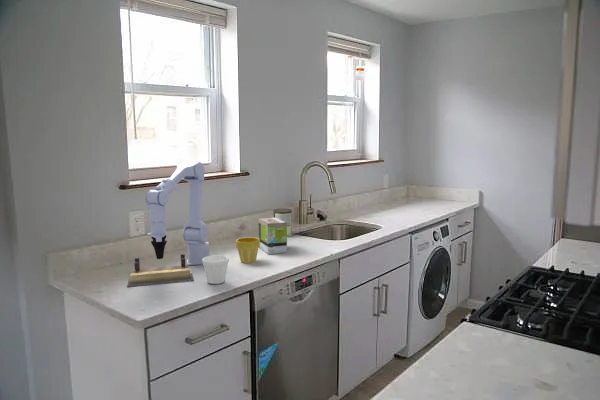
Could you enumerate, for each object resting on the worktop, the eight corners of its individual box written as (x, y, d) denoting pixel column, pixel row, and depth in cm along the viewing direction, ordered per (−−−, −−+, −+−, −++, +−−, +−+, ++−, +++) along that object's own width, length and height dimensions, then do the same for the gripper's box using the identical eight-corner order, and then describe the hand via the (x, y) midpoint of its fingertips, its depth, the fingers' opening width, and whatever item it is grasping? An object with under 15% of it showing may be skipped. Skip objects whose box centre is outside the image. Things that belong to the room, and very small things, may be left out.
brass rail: (190, 275, 183) (189, 268, 182) (190, 277, 180) (190, 270, 179) (131, 281, 176) (130, 273, 176) (130, 283, 173) (130, 275, 173)
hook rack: (187, 267, 195) (187, 253, 195) (189, 272, 188) (188, 258, 187) (132, 272, 189) (131, 257, 188) (131, 277, 181) (130, 263, 181)
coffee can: (269, 235, 256) (269, 209, 254) (284, 232, 263) (284, 207, 261) (281, 238, 248) (280, 212, 246) (296, 235, 255) (295, 210, 253)
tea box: (287, 252, 218) (287, 221, 216) (267, 254, 215) (267, 223, 212) (277, 245, 232) (277, 216, 230) (258, 247, 228) (257, 218, 226)
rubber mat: (192, 274, 186) (192, 273, 186) (193, 280, 177) (193, 279, 177) (128, 279, 179) (128, 278, 179) (127, 287, 170) (127, 286, 170)
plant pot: (246, 257, 211) (245, 236, 209) (264, 259, 206) (264, 238, 204) (231, 262, 202) (230, 240, 201) (250, 265, 197) (250, 243, 195)
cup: (197, 282, 175) (196, 258, 174) (219, 276, 182) (218, 253, 181) (212, 288, 168) (211, 263, 167) (234, 282, 175) (234, 258, 174)
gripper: (147, 218, 181) (149, 252, 183) (146, 225, 167) (148, 262, 169) (165, 217, 183) (167, 250, 185) (166, 224, 170) (168, 260, 172)
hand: (159, 256), depth 177 cm, fingers open, 7 cm apart
